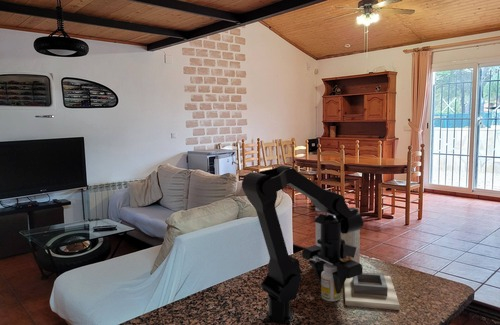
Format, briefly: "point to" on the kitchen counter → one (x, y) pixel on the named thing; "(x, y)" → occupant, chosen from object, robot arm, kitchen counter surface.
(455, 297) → the kitchen counter surface
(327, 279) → the supplement bottle
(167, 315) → the kitchen counter surface
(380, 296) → the collar board
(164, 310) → the kitchen counter surface
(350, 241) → the cracker box
